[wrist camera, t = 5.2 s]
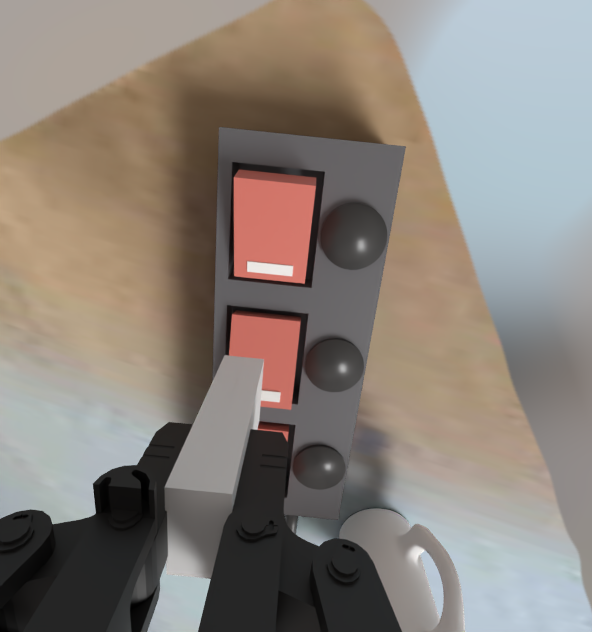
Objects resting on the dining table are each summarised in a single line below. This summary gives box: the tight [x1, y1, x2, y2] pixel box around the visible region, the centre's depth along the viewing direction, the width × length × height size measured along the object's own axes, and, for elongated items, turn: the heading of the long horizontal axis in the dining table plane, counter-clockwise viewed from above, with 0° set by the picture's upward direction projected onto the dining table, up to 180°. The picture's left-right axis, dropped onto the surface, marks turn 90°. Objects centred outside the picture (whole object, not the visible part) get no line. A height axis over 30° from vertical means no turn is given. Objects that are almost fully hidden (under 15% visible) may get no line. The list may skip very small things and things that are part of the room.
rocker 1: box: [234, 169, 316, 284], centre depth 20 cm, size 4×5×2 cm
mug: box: [339, 508, 465, 632], centre depth 27 cm, size 10×7×12 cm, turn 149°
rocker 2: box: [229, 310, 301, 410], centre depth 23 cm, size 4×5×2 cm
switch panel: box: [213, 127, 406, 534], centre depth 27 cm, size 9×36×5 cm, turn 174°
